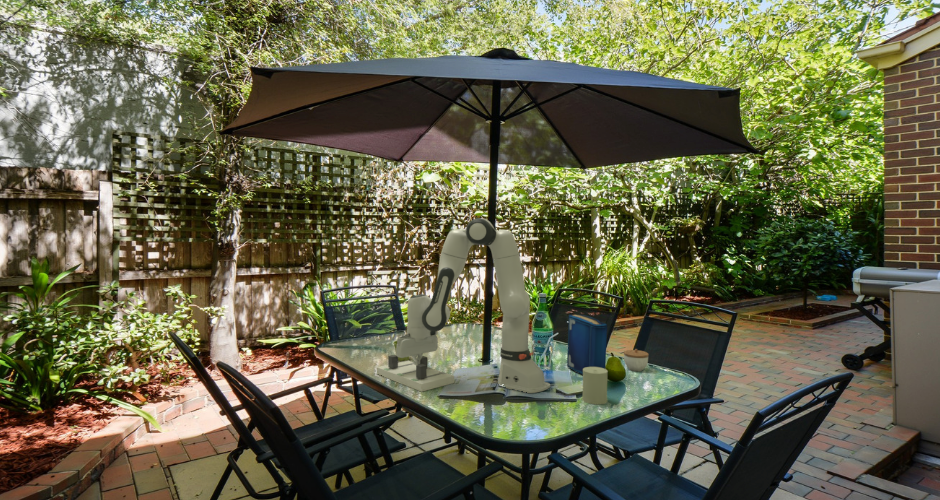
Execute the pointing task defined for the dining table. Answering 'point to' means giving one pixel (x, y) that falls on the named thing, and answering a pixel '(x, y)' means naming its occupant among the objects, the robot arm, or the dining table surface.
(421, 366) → the switch
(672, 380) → the dining table surface
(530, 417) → the dining table surface
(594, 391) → the can
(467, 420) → the dining table surface
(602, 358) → the book
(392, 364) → the switch
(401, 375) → the switch panel
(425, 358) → the middle switch
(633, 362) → the lidded jar
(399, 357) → the plant pot
